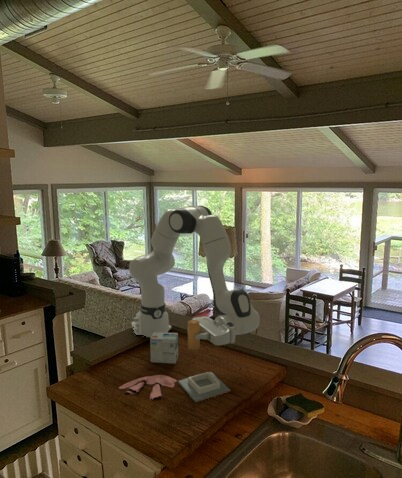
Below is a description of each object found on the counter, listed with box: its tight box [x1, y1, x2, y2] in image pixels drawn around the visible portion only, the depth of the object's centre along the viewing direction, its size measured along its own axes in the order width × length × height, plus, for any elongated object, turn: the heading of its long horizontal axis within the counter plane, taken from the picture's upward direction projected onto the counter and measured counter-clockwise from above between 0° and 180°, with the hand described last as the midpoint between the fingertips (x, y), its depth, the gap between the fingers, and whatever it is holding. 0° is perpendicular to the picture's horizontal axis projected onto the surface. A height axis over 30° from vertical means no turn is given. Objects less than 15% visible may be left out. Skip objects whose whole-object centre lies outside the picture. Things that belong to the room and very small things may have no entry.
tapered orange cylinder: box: [187, 319, 201, 351], centre depth 145 cm, size 4×4×10 cm
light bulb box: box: [149, 332, 179, 365], centre depth 159 cm, size 11×7×11 cm, turn 84°
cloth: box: [118, 374, 178, 400], centre depth 138 cm, size 20×22×2 cm
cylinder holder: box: [177, 371, 231, 403], centre depth 139 cm, size 14×14×3 cm
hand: (191, 333), depth 144 cm, fingers closed on tapered orange cylinder, 4 cm apart
